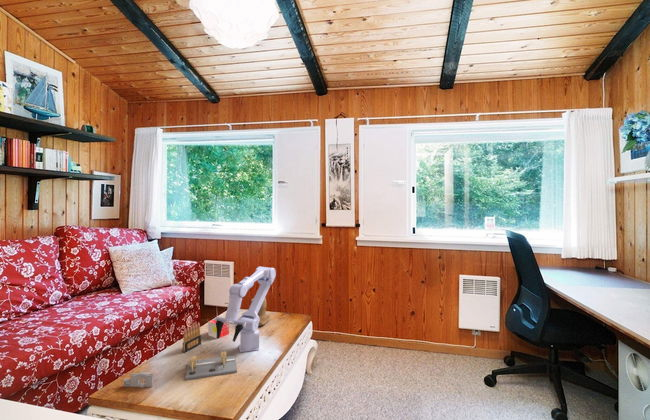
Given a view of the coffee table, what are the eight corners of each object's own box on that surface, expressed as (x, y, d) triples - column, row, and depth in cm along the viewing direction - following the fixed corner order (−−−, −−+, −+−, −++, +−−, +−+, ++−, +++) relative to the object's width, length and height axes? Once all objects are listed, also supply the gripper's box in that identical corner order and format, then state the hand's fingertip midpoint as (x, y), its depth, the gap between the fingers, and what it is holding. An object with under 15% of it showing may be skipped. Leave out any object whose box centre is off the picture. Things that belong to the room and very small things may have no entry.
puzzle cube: (208, 335, 178) (208, 321, 178) (219, 330, 185) (219, 317, 185) (217, 339, 174) (217, 324, 174) (229, 334, 181) (229, 320, 180)
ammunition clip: (185, 353, 158) (185, 329, 157) (182, 352, 158) (182, 328, 158) (201, 344, 168) (201, 321, 167) (198, 343, 168) (198, 321, 168)
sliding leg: (226, 358, 150) (226, 351, 150) (226, 367, 142) (226, 359, 142) (220, 359, 149) (220, 352, 149) (221, 368, 142) (221, 360, 141)
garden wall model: (122, 387, 129) (122, 373, 129) (125, 384, 131) (125, 370, 130) (152, 387, 129) (152, 373, 129) (155, 384, 131) (155, 370, 131)
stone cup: (255, 316, 207) (255, 294, 207) (272, 318, 205) (272, 295, 204) (244, 325, 192) (244, 301, 192) (263, 327, 190) (263, 303, 189)
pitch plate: (235, 357, 154) (235, 347, 154) (236, 372, 141) (237, 362, 141) (188, 363, 148) (188, 353, 148) (185, 380, 134) (185, 369, 134)
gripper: (215, 306, 149) (207, 337, 144) (246, 312, 148) (238, 343, 144) (220, 307, 156) (213, 337, 151) (249, 312, 155) (242, 342, 150)
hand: (225, 340), depth 148 cm, fingers open, 7 cm apart
